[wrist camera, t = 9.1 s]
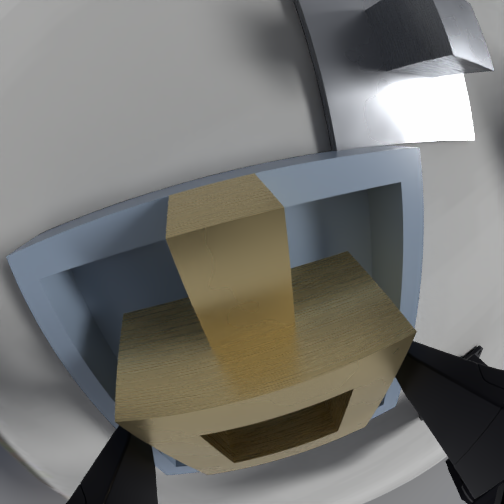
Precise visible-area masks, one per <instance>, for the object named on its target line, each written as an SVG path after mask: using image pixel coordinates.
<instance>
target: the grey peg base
mask: <svg viewBox="0 0 504 504" xmlns="http://www.w3.org/2000/svg"><path fill="white" fill-rule="evenodd" d="M294 3H295V6H296V9H297V12H298V15H299V18H300V21H301V24H302V27H303V30H304V34H305V37H306V40H307V44H308V47H309V51H310V54H311V58H312V62H313V65H314V69H315V73H316V77H317V81H318V85H319V89H320V94H321V98H322V103H323V107H324V112H325V117H326V122H327V127H328V132H329V137H330V143H331V148H332V151H341V150H348V149H355V148H363V147H371V146H380V145H390V144H401V143H413V142H427V141H447V140H474V131H473V123H472V116H471V110H470V104H469V99H468V94H467V89H466V84H465V80H464V76H463V74H465V73H474V72H486V71H494V68H493V65H492V61H491V58H490V54H489V51H488V48H487V45H486V42H485V39H484V36H483V33H482V31H481V28H480V25H479V23H478V20H477V18H476V16H475V13H474V11H473V9H472V6H471V4H470V3H468V2H467V1H465V0H294Z"/></svg>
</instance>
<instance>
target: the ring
mask: <svg viewBox="0 0 504 504" xmlns="http://www.w3.org/2000/svg"><path fill="white" fill-rule="evenodd" d="M166 241H167V244H168V247H169V249H170V252H171V254H172V257H173V260H174V262H175V265H176V267H177V270H178V272H179V275H180V277H181V280H182V282H183V285H184V287H185V289H186V292H187V294H188V297H187V298H183V299H179V300H175V301H171V302H168V303H164V304H160V305H156V306H152V307H148V308H144V309H140V310H136V311H132V312H128V313H124V314H123V320H122V328H121V336H120V345H119V354H118V365H117V379H116V397H115V422H116V423H117V424H118V425H120V426H121V427H123V428H124V429H126V430H127V431H129V432H130V433H132V434H133V435H135V436H136V437H138V438H139V439H141V440H143V441H144V442H146V443H147V444H149V445H151V446H152V447H154V448H156V449H158V450H159V451H161V452H163V453H165V454H166V455H168V456H170V457H172V458H174V459H176V460H178V461H180V462H181V463H183V464H185V465H187V466H189V467H192V468H194V469H196V470H198V471H200V472H202V473H204V474H207V475H211V474H217V473H223V472H229V471H234V470H239V469H243V468H248V467H252V466H257V465H261V464H265V463H268V462H272V461H276V460H279V459H283V458H286V457H289V456H292V455H296V454H299V453H302V452H305V451H308V450H310V449H313V448H316V447H319V446H321V445H324V444H327V443H329V442H332V441H334V440H337V439H339V438H341V437H344V436H346V435H348V434H351V433H353V432H355V431H357V430H359V429H361V428H364V427H366V425H367V424H368V422H369V420H370V419H371V417H372V416H373V414H374V413H375V411H376V409H377V408H378V406H379V404H380V403H381V401H382V399H383V398H384V396H385V394H386V392H387V391H388V389H389V387H390V385H391V383H392V382H393V380H394V378H395V376H396V374H397V372H398V370H399V368H400V366H401V364H402V362H403V360H404V358H405V356H406V354H407V352H408V350H409V348H410V346H411V343H412V341H413V339H414V337H415V334H416V332H417V331H416V330H415V329H414V328H413V326H412V325H411V324H410V323H409V321H408V320H407V319H406V318H405V316H404V315H403V314H402V313H401V312H400V310H399V309H398V308H397V307H396V306H395V304H394V303H393V302H392V301H391V300H390V298H389V297H388V296H387V295H386V294H385V292H384V291H383V290H382V289H381V288H380V287H379V285H378V284H377V283H376V282H375V281H374V280H373V279H372V277H371V276H370V275H369V274H368V273H367V272H366V271H365V270H364V268H363V267H362V266H361V265H360V264H359V263H358V262H357V261H356V260H355V258H354V257H353V256H352V255H351V254H350V253H349V252H348V251H346V252H343V253H340V254H337V255H333V256H330V257H327V258H324V259H320V260H317V261H314V262H310V263H307V264H304V265H300V266H297V267H294V268H291V267H290V257H289V247H288V237H287V228H286V219H285V210H284V206H283V205H282V204H281V203H280V202H279V201H278V199H277V198H276V197H275V196H274V195H273V194H272V192H271V191H270V190H269V189H268V188H267V187H266V186H265V185H264V183H263V182H262V181H261V180H260V179H259V178H258V177H257V176H256V174H255V173H253V174H249V175H245V176H240V177H236V178H232V179H228V180H224V181H220V182H216V183H212V184H208V185H205V186H201V187H197V188H194V189H190V190H186V191H183V192H179V193H176V194H172V195H169V201H168V212H167V225H166Z"/></svg>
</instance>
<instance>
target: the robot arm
mask: <svg viewBox="0 0 504 504" xmlns="http://www.w3.org/2000/svg"><path fill="white" fill-rule="evenodd" d="M482 350H483V348H482V347H481V346H478V347H477V348H476V349H474V350H473V351H472V352H471V353H469V354H468V355H467V356H466V357H464V358H461V357H458V356H455V355H452V354H449V353H446V352H443V351H440V350H437V349H434V348H432V347H429V346H426V345H423V344H420V343H417V342H414V341H412V343H411V346H410V348H409V350H408V352H407V354H406V356H405V358H404V360H403V362H402V364H401V366H400V368H399V370H398V372H397V374H396V376H395V378H396V379H397V381H398V383H399V385H400V387H401V388H402V390H403V392H404V393H405V395H406V396H407V398H408V399H409V400H410V402H411V403H412V405H413V406H414V408H415V409H416V410H417V412H418V413H419V415H420V416H419V418H420V420H421V421H422V420H424V422H425V423H426V425H427V426H428V428H429V429H430V431H431V432H432V434H433V435H434V436H435V438H436V439H437V441H438V442H439V444H440V445H441V447H442V448H443V450H444V451H445V453H446V454H447V456H448V459H447V460H446V464H447V466H448V470H449V472H450V474H451V476H452V479H453V481H454V483H455V485H456V487H457V490H458V492H459V494H460V497H461V499H462V500H464V501H465V502H466V503H467V504H504V370H500V369H496V368H492V367H489V366H487V365H486V364H485V363H484V362H483V361H482V360H481V359H479V357H480V355H481V352H482ZM66 504H158V499H157V487H156V472H155V463H154V456H153V450H152V446H151V445H149V444H147V443H146V442H144V441H143V440H141V439H139V438H138V437H136V436H135V435H133V434H132V433H130V432H129V431H127V430H126V429H124V428H123V427H121V426H120V425H119V426H118V427H117V429H116V430H115V432H114V433H113V435H112V436H111V438H110V439H109V441H108V442H107V444H106V445H105V447H104V448H103V450H102V451H101V453H100V454H99V456H98V457H97V459H96V460H95V462H94V463H93V465H92V466H91V468H90V469H89V471H88V472H87V474H86V475H85V477H84V478H83V480H82V481H81V484H80V485H79V486H78V487H77V489H76V490H75V492H74V493H73V495H72V496H71V498H70V499H69V500H68V502H67V503H66Z"/></svg>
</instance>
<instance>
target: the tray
mask: <svg viewBox="0 0 504 504" xmlns="http://www.w3.org/2000/svg"><path fill="white" fill-rule="evenodd" d="M253 173H255V174H256V176H257V177H258V178H259V179H260V180H261V181H262V182H263V183H264V185H265V186H266V187H267V188H268V189H269V190H270V191H271V192H272V194H273V195H274V196H275V197H276V198H277V199H278V201H279V202H280V203H281V204H282V205H283V206H284V210H285V219H286V228H287V237H288V247H289V257H290V267H291V268H294V267H297V266H300V265H304V264H307V263H310V262H314V261H317V260H320V259H324V258H327V257H330V256H333V255H337V254H340V253H343V252H346V251H348V252H349V253H350V254H351V255H352V256H353V257H354V258H355V260H356V261H357V262H358V263H359V264H360V265H361V266H362V267H363V268H364V270H365V271H366V272H367V273H368V274H369V275H370V276H371V277H372V279H373V280H374V281H375V282H376V283H377V284H378V285H379V287H380V288H381V289H382V290H383V291H384V292H385V294H386V295H387V296H388V297H389V298H390V300H391V301H392V302H393V303H394V304H395V306H396V307H397V308H398V309H399V310H400V312H401V313H402V314H403V315H404V316H405V318H406V319H407V320H408V321H409V323H410V324H411V325H412V326H413V328H415V322H416V316H417V309H418V301H419V293H420V284H421V273H422V258H423V234H424V206H423V181H422V168H421V157H420V148H419V147H407V146H386V145H380V146H371V147H363V148H355V149H348V150H341V151H328V152H322V153H316V154H310V155H304V156H298V157H293V158H287V159H282V160H277V161H272V162H267V163H262V164H258V165H253V166H249V167H244V168H240V169H236V170H231V171H227V172H223V173H219V174H215V175H211V176H207V177H203V178H200V179H196V180H192V181H189V182H185V183H181V184H178V185H174V186H171V187H168V188H164V189H161V190H158V191H154V192H151V193H148V194H145V195H142V196H139V197H135V198H132V199H129V200H126V201H123V202H121V203H118V204H115V205H112V206H109V207H106V208H103V209H101V210H98V211H95V212H93V213H90V214H87V215H85V216H82V217H79V218H77V219H74V220H72V221H69V222H67V223H64V224H62V225H59V226H57V227H55V228H52V229H50V230H48V231H45V232H43V233H41V234H39V235H38V236H36V237H35V238H33V239H32V240H30V241H28V242H27V243H25V244H24V245H22V246H21V247H19V248H18V249H16V250H15V251H14V252H12V253H11V254H9V255H8V256H6V258H7V260H8V263H9V265H10V268H11V270H12V272H13V275H14V277H15V279H16V282H17V284H18V286H19V288H20V290H21V292H22V294H23V296H24V299H25V301H26V303H27V305H28V306H29V308H30V310H31V312H32V314H33V316H34V318H35V320H36V321H37V323H38V325H39V327H40V328H41V330H42V332H43V334H44V335H45V337H46V339H47V340H48V342H49V343H50V345H51V347H52V348H53V350H54V351H55V353H56V354H57V356H58V357H59V359H60V360H61V362H62V363H63V365H64V366H65V368H66V369H67V370H68V372H69V373H70V375H71V376H72V377H73V379H74V380H75V381H76V383H77V384H78V385H79V387H80V388H81V389H82V390H83V392H84V393H85V394H86V395H87V397H88V398H89V399H90V400H91V401H92V403H93V404H94V405H95V406H96V407H97V409H98V410H99V411H100V412H101V413H102V414H103V415H104V416H105V418H106V419H107V420H108V421H109V422H110V423H111V424H112V425H113V426H114V427H115V428H116V429H117V427H118V426H119V425H118V424H117V423H116V422H115V397H116V379H117V365H118V354H119V345H120V336H121V328H122V320H123V314H124V313H128V312H132V311H136V310H140V309H144V308H148V307H152V306H156V305H160V304H164V303H168V302H171V301H175V300H179V299H183V298H187V297H188V294H187V292H186V289H185V287H184V285H183V282H182V280H181V277H180V275H179V272H178V270H177V267H176V265H175V262H174V260H173V257H172V254H171V252H170V249H169V247H168V244H167V241H166V225H167V212H168V201H169V195H172V194H176V193H179V192H183V191H186V190H190V189H194V188H197V187H201V186H205V185H208V184H212V183H216V182H220V181H224V180H228V179H232V178H236V177H240V176H245V175H249V174H253ZM400 390H401V387H400V385H399V383H398V381H397V379H396V378H394V380H393V382H392V383H391V385H390V387H389V389H388V391H387V392H386V394H385V396H384V398H383V399H382V401H381V403H380V404H379V406H378V408H377V409H376V411H375V413H374V414H373V416H372V417H371V419H373V418H375V417H377V416H379V415H381V414H382V413H384V412H386V411H388V410H390V409H392V408H394V407H395V406H396V404H397V401H398V397H399V394H400ZM371 419H370V420H371ZM152 450H153V456H154V463H155V466H156V467H157V468H159V469H160V470H161V471H162V472H163V473H165V474H166V475H175V474H186V473H194V472H200V471H198V470H196V469H194V468H192V467H189V466H187V465H185V464H183V463H181V462H180V461H178V460H176V459H174V458H172V457H170V456H168V455H166V454H165V453H163V452H161V451H159V450H158V449H156V448H154V447H152Z"/></svg>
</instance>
